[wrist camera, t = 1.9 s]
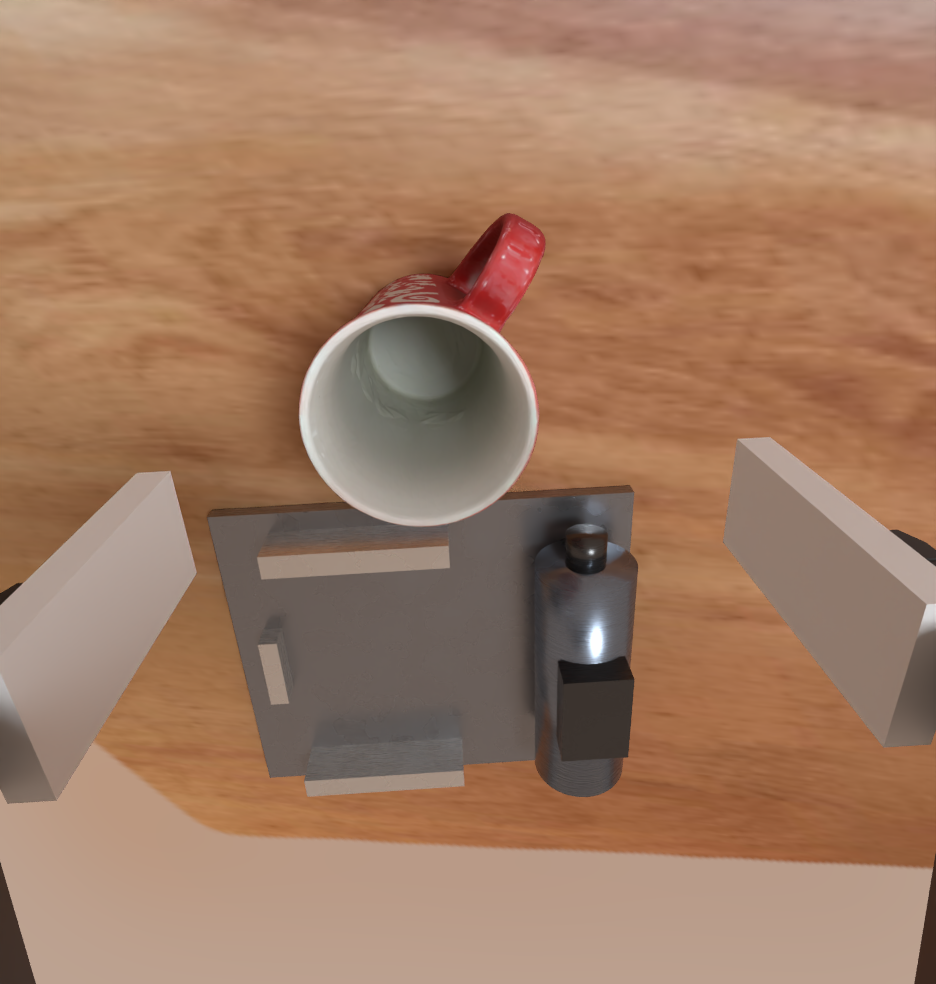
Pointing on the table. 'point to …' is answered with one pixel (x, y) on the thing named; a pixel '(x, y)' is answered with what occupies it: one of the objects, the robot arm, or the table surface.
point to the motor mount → (437, 639)
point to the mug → (429, 389)
